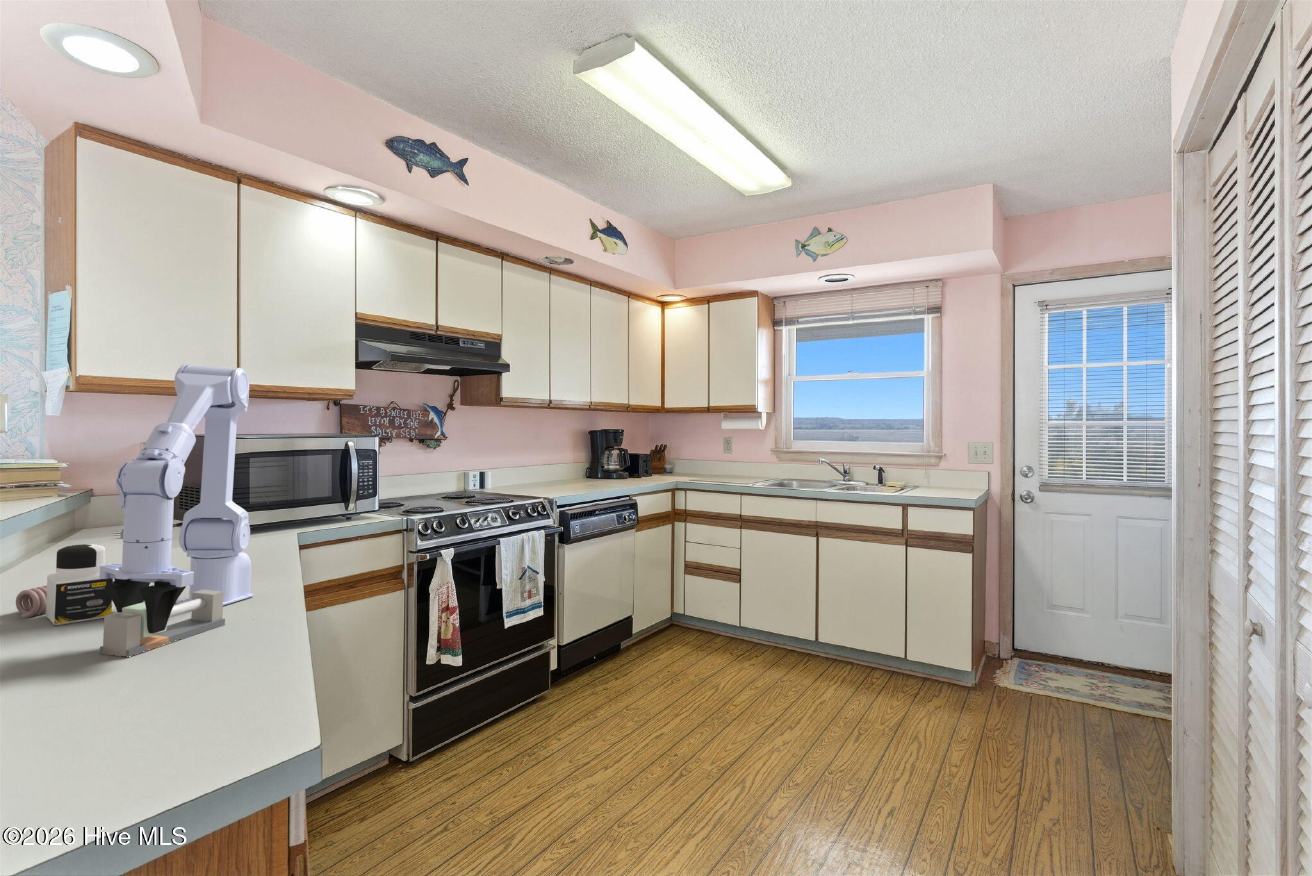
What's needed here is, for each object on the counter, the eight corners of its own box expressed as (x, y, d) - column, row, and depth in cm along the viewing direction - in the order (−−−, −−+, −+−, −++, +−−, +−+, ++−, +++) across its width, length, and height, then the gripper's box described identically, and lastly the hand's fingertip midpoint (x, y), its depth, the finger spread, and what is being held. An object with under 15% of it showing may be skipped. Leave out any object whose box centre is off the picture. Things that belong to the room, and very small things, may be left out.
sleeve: (144, 627, 96) (145, 601, 96) (166, 630, 95) (167, 604, 95) (121, 634, 92) (122, 607, 92) (143, 637, 91) (145, 610, 91)
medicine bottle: (54, 626, 100) (57, 551, 100) (45, 616, 104) (48, 545, 104) (111, 617, 106) (115, 546, 106) (101, 608, 110) (104, 540, 110)
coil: (35, 593, 103) (137, 570, 121) (11, 588, 103) (115, 566, 121) (32, 621, 103) (133, 594, 121) (7, 616, 103) (112, 589, 121)
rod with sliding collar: (199, 621, 105) (200, 589, 105) (224, 624, 105) (226, 592, 105) (99, 653, 90) (101, 615, 90) (128, 657, 89) (130, 619, 89)
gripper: (79, 539, 91) (75, 632, 91) (163, 548, 88) (159, 643, 88) (128, 532, 98) (124, 619, 98) (207, 540, 95) (203, 628, 95)
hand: (144, 629), depth 93 cm, fingers closed on sleeve, 4 cm apart
